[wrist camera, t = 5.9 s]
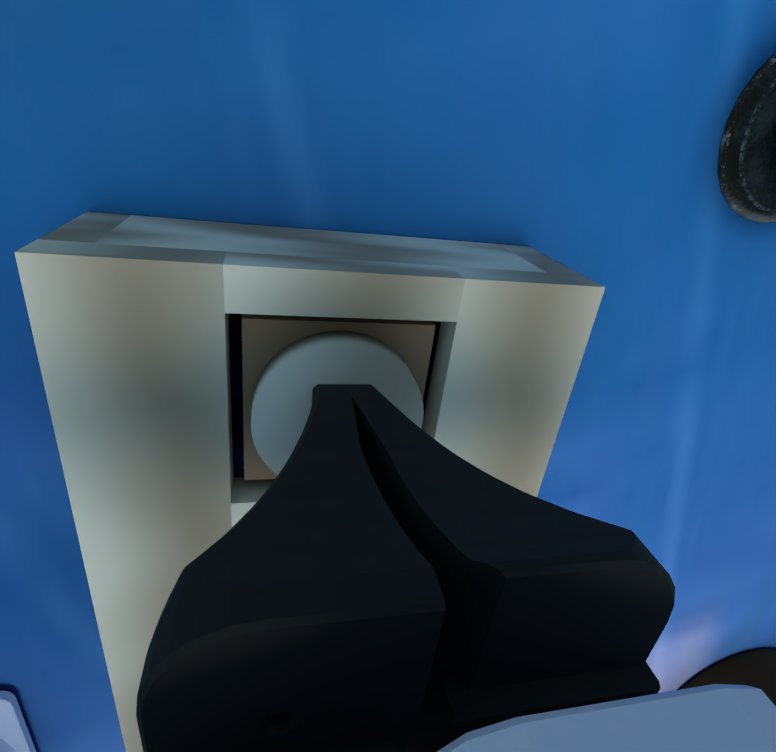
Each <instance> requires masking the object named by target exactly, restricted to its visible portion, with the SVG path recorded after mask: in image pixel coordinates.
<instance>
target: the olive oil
mask: <svg viewBox="0 0 776 752" xmlns="http://www.w3.org/2000/svg"><path fill="white" fill-rule="evenodd" d="M711 684H729V685H747V686H751V687H755V688H758V689H761V690H762V691H763V692H764V693H765V694H766V696H767V697H768V698H769V699H770V700H771V702H772V703H773V704H774V705H775V706H776V649H759V650H754V651H749V652H745V653H742V654H739V655H736V656H734V657H731V658H729V659H726V660H724V661H722V662H720V663H718V664H716V665H714V666H712V667H711V668H709V669H707V670H706V671H704V672H702V673H701V674H699V675H698V676H697V677H695V678H694V679H693V680H691V681H690V682H689V683H688V684H686V685H685V686H684V687H683V688H682V689H688V688H693V687H699V686H705V685H711ZM682 689H681V690H682Z"/></svg>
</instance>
